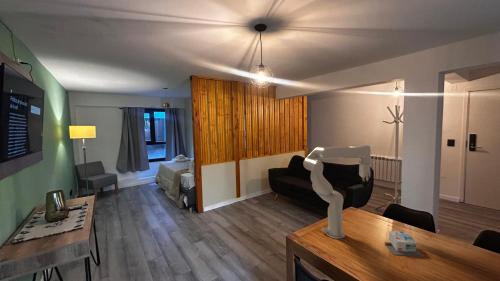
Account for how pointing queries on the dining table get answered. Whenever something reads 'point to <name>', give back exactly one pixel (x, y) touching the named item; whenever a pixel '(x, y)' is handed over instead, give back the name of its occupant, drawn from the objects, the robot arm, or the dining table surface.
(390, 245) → the rail
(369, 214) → the dining table surface
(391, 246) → the mat
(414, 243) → the light bulb box
